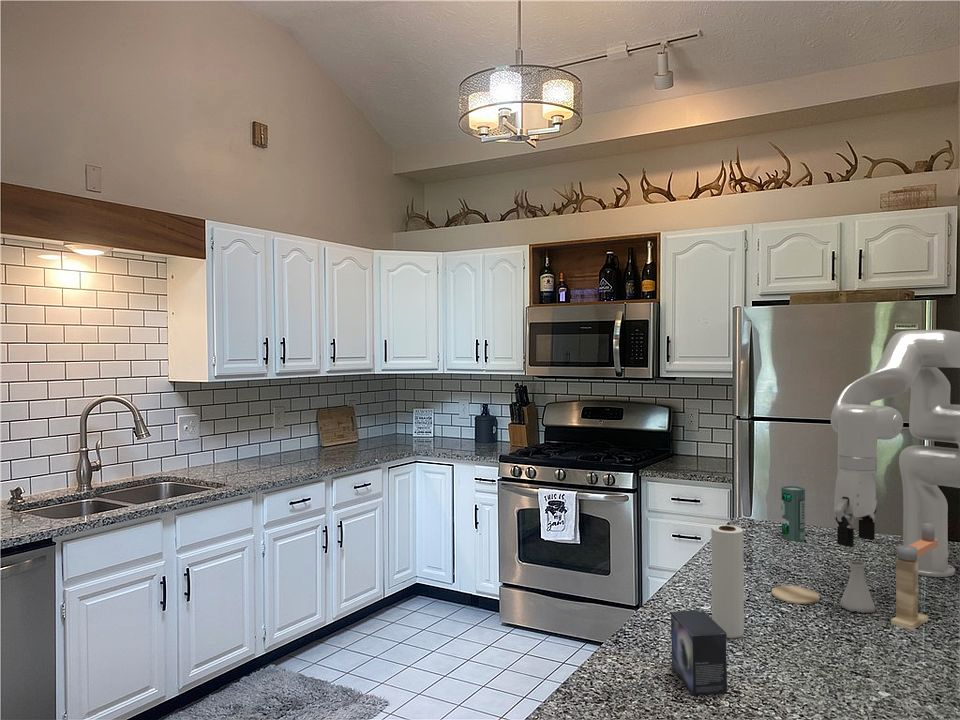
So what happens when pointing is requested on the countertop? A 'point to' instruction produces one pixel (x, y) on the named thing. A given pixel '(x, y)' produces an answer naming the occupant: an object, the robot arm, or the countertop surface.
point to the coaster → (795, 594)
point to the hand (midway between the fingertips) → (856, 542)
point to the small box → (699, 652)
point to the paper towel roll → (728, 579)
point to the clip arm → (919, 544)
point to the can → (793, 513)
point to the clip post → (907, 596)
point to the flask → (857, 591)
